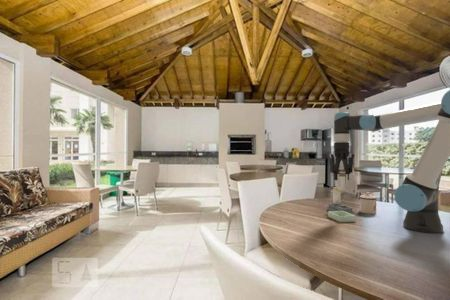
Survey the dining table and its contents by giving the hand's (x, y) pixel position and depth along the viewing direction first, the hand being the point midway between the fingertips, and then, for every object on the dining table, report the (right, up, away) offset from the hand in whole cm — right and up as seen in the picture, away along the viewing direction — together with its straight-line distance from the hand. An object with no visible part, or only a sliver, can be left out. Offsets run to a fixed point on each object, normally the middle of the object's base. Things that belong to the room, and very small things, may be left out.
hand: (341, 186), depth 143 cm
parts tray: (0, -17, 0) cm, 17 cm away
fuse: (+5, -15, +19) cm, 25 cm away
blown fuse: (0, -3, 0) cm, 3 cm away
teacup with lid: (+23, -18, +17) cm, 33 cm away
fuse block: (+6, -17, +15) cm, 24 cm away
